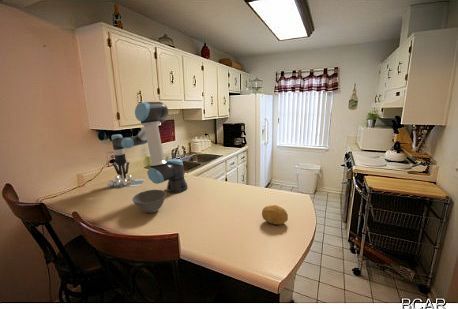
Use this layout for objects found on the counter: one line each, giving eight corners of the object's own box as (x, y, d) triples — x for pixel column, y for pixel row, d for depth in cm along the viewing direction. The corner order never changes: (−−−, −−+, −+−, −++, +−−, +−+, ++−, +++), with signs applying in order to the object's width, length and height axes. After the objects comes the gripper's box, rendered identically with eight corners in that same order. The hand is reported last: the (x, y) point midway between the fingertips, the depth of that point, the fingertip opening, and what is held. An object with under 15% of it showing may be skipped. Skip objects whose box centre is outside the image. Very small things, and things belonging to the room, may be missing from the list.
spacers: (132, 180, 184) (131, 174, 183) (126, 186, 170) (125, 180, 169) (116, 181, 182) (115, 175, 181) (109, 187, 169) (108, 181, 168)
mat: (145, 180, 186) (145, 179, 185) (140, 186, 171) (140, 185, 171) (112, 182, 183) (112, 181, 183) (104, 189, 168) (104, 188, 168)
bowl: (134, 207, 136) (132, 193, 134) (165, 201, 143) (163, 187, 141) (134, 222, 119) (132, 205, 117) (169, 214, 126) (167, 198, 124)
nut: (131, 182, 179) (131, 178, 178) (129, 184, 174) (129, 181, 174) (126, 182, 179) (125, 179, 178) (124, 184, 174) (123, 181, 173)
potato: (285, 213, 104) (288, 203, 112) (258, 210, 110) (263, 200, 118) (286, 230, 107) (289, 219, 115) (260, 225, 113) (265, 215, 121)
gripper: (129, 152, 175) (133, 180, 180) (112, 153, 174) (117, 181, 179) (126, 154, 168) (131, 183, 173) (108, 155, 166) (113, 184, 172)
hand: (124, 182), depth 176 cm, fingers closed
